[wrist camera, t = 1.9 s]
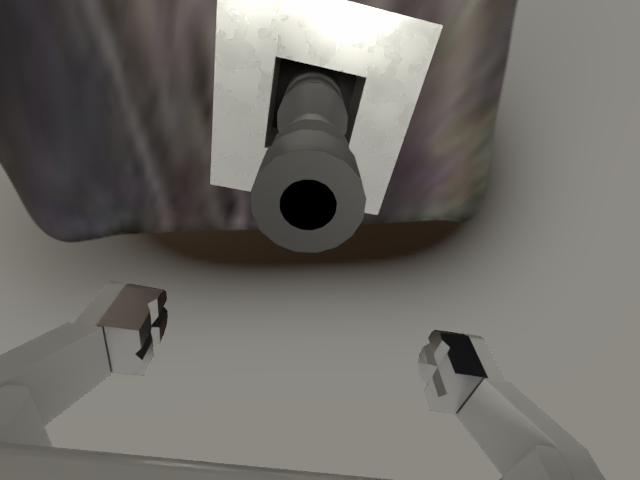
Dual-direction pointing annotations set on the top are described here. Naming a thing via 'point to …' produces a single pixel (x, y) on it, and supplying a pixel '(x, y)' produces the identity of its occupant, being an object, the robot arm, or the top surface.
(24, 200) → the top surface
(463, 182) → the top surface
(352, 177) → the candle holder
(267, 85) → the sleeve block
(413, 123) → the top surface
